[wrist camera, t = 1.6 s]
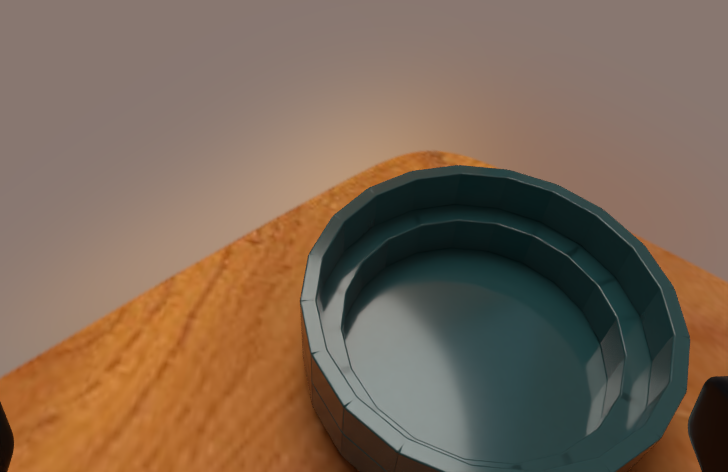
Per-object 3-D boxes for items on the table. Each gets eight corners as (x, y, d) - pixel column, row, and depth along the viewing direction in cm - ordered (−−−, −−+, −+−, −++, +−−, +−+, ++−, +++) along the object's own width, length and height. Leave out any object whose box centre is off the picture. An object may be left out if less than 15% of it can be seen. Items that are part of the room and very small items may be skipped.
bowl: (713, 412, 25) (774, 356, 22) (433, 619, 20) (455, 588, 16) (493, 196, 33) (513, 130, 29) (249, 303, 27) (238, 238, 24)
